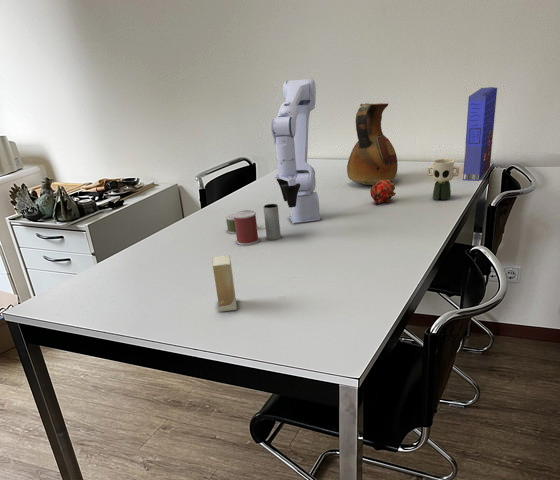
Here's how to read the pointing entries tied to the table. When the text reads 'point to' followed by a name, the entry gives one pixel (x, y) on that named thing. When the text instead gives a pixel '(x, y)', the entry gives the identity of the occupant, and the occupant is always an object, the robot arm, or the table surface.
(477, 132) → the cereal box
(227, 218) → the short can
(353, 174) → the ceramic pitcher
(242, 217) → the tall can
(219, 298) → the cosmetic box
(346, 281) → the table surface
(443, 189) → the character mug
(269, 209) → the planter
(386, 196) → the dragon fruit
